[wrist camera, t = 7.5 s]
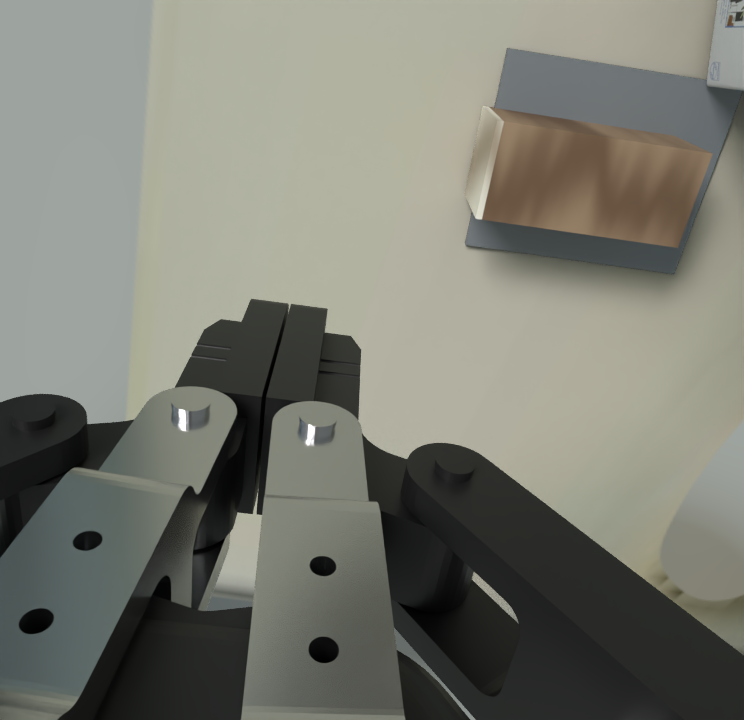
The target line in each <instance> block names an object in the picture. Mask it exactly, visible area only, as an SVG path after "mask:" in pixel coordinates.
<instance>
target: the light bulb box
mask: <svg viewBox="0 0 744 720" xmlns="http://www.w3.org/2000/svg"><path fill="white" fill-rule="evenodd" d="M707 86H710V87H718V88H726V89H734V90H742V91H744V0H718V1H717V9H716V16H715V23H714V31H713V38H712V45H711V52H710V59H709V66H708V74H707Z"/></svg>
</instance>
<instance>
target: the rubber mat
mask: <svg viewBox="0 0 744 720" xmlns="http://www.w3.org/2000/svg"><path fill="white" fill-rule="evenodd" d="M742 93H743V91H742V90H734V89H726V88H718V87H710V86H707V80H704V79H698V78H692V77H685V76H679V75H673V74H666V73H660V72H654V71H648V70H641V69H635V68H629V67H623V66H616V65H610V64H604V63H598V62H591V61H585V60H579V59H573V58H566V57H560V56H554V55H548V54H541V53H535V52H529V51H522V50H516V49H510V48H507V52H506V56H505V61H504V65H503V70H502V75H501V79H500V84H499V89H498V93H497V98H496V102H495V107H494V108H499V109H505V110H512V111H518V112H525V113H531V114H537V115H544V116H550V117H557V118H563V119H570V120H576V121H583V122H589V123H595V124H602V125H608V126H615V127H621V128H628V129H634V130H640V131H647V132H653V133H660V134H666V135H673V136H676V137H678V138H680V139H682V140H684V141H687V142H689V143H691V144H693V145H695V146H697V147H700V148H702V149H704V150H706V151H708V152H710V153H713V155H712V157H711V160H710V163H709V165H708V168H707V171H706V173H705V176H704V179H703V181H702V184H701V187H700V189H699V192H698V195H697V198H696V200H695V203H694V206H693V208H692V211H691V214H690V216H689V219H688V222H687V224H686V227H685V230H684V232H683V235H682V238H681V240H680V243H679V246H678V248H676V247H669V246H662V245H655V244H648V243H641V242H634V241H627V240H620V239H613V238H606V237H599V236H592V235H585V234H578V233H572V232H565V231H558V230H551V229H544V228H537V227H530V226H523V225H516V224H509V223H502V222H495V221H488V220H481V219H476V218H475V216H474V214H473V212H472V213H471V218H470V223H469V227H468V232H467V237H466V241H465V245H469V246H476V247H483V248H490V249H497V250H505V251H512V252H519V253H526V254H533V255H540V256H547V257H555V258H562V259H569V260H576V261H583V262H590V263H597V264H605V265H612V266H619V267H626V268H633V269H640V270H647V271H655V272H662V273H669V274H674V273H675V271H676V268H677V265H678V263H679V260H680V257H681V255H682V252H683V249H684V247H685V244H686V242H687V239H688V236H689V234H690V231H691V228H692V226H693V223H694V220H695V218H696V215H697V212H698V210H699V207H700V204H701V202H702V199H703V196H704V194H705V191H706V188H707V186H708V183H709V180H710V178H711V175H712V172H713V170H714V167H715V164H716V162H717V159H718V156H719V154H720V151H721V148H722V146H723V143H724V140H725V138H726V135H727V132H728V130H729V127H730V124H731V122H732V119H733V116H734V114H735V111H736V108H737V106H738V103H739V100H740V98H741V95H742Z"/></svg>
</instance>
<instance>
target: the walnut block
mask: <svg viewBox="0 0 744 720" xmlns="http://www.w3.org/2000/svg"><path fill="white" fill-rule="evenodd" d="M712 155H713V153H710V152H708V151H706V150H704V149H702V148H700V147H697V146H695V145H693V144H691V143H689V142H687V141H684V140H682V139H680V138H678V137H676V136H673V135H666V134H660V133H653V132H647V131H640V130H634V129H628V128H621V127H615V126H608V125H602V124H595V123H589V122H583V121H576V120H570V119H563V118H557V117H550V116H544V115H537V114H531V113H525V112H518V111H512V110H505V109H499V108H492V107H486V106H483V108H482V113H481V118H480V123H479V128H478V132H477V137H476V142H475V147H474V151H473V156H472V161H471V166H470V170H469V175H468V180H467V185H466V189H465V197H466V199H467V201H468V203H469V205H470V208H471V210H472V212H473V214H474V216H475V218H476V219H481V220H488V221H495V222H502V223H509V224H516V225H523V226H530V227H537V228H544V229H551V230H558V231H565V232H572V233H578V234H585V235H592V236H599V237H606V238H613V239H620V240H627V241H634V242H641V243H648V244H655V245H662V246H669V247H676V248H678V246H679V243H680V240H681V238H682V235H683V232H684V230H685V227H686V224H687V222H688V219H689V216H690V214H691V211H692V208H693V206H694V203H695V200H696V198H697V195H698V192H699V189H700V187H701V184H702V181H703V179H704V176H705V173H706V171H707V168H708V165H709V163H710V160H711V157H712Z"/></svg>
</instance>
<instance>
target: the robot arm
mask: <svg viewBox="0 0 744 720" xmlns="http://www.w3.org/2000/svg"><path fill="white" fill-rule="evenodd" d="M288 309H289V306H288V304H287V303H279V302H271V301H264V300H256V299H251V300H250V303H249V305H248V308H247V310H246V313H245V315H244V318H243V320H242V322H238V321H230V320H222V319H221V320H219V321H217V322H216V323H214V324H213V325H211V326H209V327H208V328H206V329H205V330H204V331H203V333H202V335H201V337H200V339H199V341H198V343H197V346H196V347H195V349H194V351H193V353H192V356H191V357H190V359H189V361H188V363H187V365H186V367H185V369H184V371H183V373H182V375H181V376H180V378H179V380H178V382H177V384H176V386H175V388H172V389H168V390H165V391H163V392H160V393H158V394H156V395H155V396H153V397H152V398H151V399H149V401H148V402H147V403H146V404H145V406H144V407H143V408H142V410H141V411H140V413H139V414H138V415H137V417H136V418H135V419H134V420H129V421H123V422H112V423H99V424H87V415H86V411H85V409H84V408H83V407H82V405H80V404H79V403H78V402H76V401H75V400H72V399H70V398H67V397H63V396H59V395H52V394H34V395H26V396H20V397H16V398H12V399H9V400H6V401H3V402H0V720H470V719H469V718H468V717H467V715H466V714H465V713H464V712H463V711H462V710H461V708H460V707H459V706H458V705H457V703H456V702H455V701H454V700H453V698H452V697H451V696H450V695H449V694H448V692H447V691H446V690H445V689H444V688H443V687H442V686H441V684H440V683H439V682H438V681H437V680H436V679H434V678H433V677H432V676H431V675H430V674H429V673H428V672H427V671H426V670H425V669H424V668H422V667H421V666H420V665H418V664H417V663H416V662H414V661H413V660H411V659H410V658H409V657H407V656H406V655H404V654H402V653H401V652H399V651H397V649H396V640H395V632H394V628H395V629H396V630H397V631H398V632H399V633H400V634H401V635H402V637H403V638H404V639H405V640H406V641H407V642H408V643H409V644H410V646H411V647H412V648H413V649H414V650H415V651H416V652H417V653H418V655H419V656H420V657H421V658H422V659H423V660H424V661H425V663H426V664H427V665H428V666H429V667H430V668H431V669H432V671H433V672H434V673H435V674H436V675H437V676H438V677H439V678H440V679H441V681H442V682H443V683H444V684H445V685H446V686H447V687H448V689H449V690H450V691H451V692H452V693H453V694H454V695H455V697H456V698H457V699H458V700H459V701H460V702H461V703H462V704H463V706H464V707H465V708H466V709H467V710H468V711H469V712H470V714H471V715H472V716H473V717H474V718H475V719H476V720H744V655H742V654H741V653H740V652H738V651H737V650H736V649H734V648H733V647H732V646H731V645H729V644H728V643H727V642H725V641H724V640H723V639H721V638H720V637H719V636H717V635H716V634H715V633H714V632H712V631H711V630H710V629H708V628H707V627H706V626H704V625H703V624H702V623H700V622H699V621H698V620H697V619H695V618H694V617H693V616H691V615H690V614H689V613H687V612H686V611H685V610H683V609H682V608H681V607H680V606H678V605H677V604H676V603H674V602H673V601H672V600H670V599H669V598H668V597H666V596H665V595H664V594H663V593H661V592H660V591H659V590H657V589H656V588H655V587H653V586H652V585H651V584H649V583H648V582H647V581H646V580H644V579H643V578H642V577H640V576H639V575H638V574H636V573H635V572H634V571H632V570H631V569H630V568H629V567H627V566H626V565H625V564H623V563H622V562H621V561H619V560H618V559H617V558H615V557H614V556H613V555H612V554H610V553H609V552H608V551H606V550H605V549H604V548H602V547H601V546H600V545H598V544H597V543H596V542H595V541H593V540H592V539H591V538H589V537H588V536H587V535H585V534H584V533H583V532H581V531H580V530H579V529H578V528H576V527H575V526H574V525H572V524H571V523H570V522H568V521H567V520H566V519H565V518H563V517H562V516H561V515H559V514H558V513H557V512H555V511H554V510H553V509H551V508H550V507H549V506H548V505H546V504H545V503H544V502H542V501H541V500H540V499H538V498H537V497H536V496H534V495H533V494H532V493H531V492H529V491H528V490H527V489H525V488H524V487H523V486H521V485H520V484H519V483H517V482H516V481H515V480H514V479H512V478H511V477H510V476H508V475H507V474H506V473H504V472H503V471H502V470H500V469H499V468H498V467H497V466H495V465H494V464H493V463H491V462H490V461H489V460H487V459H486V458H485V457H483V456H482V455H480V454H479V453H477V452H475V451H473V450H471V449H468V448H466V447H462V446H459V445H454V444H448V443H433V444H427V445H423V446H421V447H419V448H417V449H415V450H414V451H413V452H412V453H411V454H410V455H409V457H408V459H404V458H401V457H398V456H395V455H393V454H390V453H387V452H385V451H383V450H381V449H379V448H378V447H376V446H375V445H373V444H372V443H371V442H369V441H368V440H367V439H366V438H365V437H364V435H363V434H362V429H361V425H360V423H359V421H358V414H359V388H360V362H361V349H360V348H359V346H358V345H357V344H356V342H355V341H354V340H353V338H352V337H351V336H346V335H338V334H331V333H325V326H326V318H327V309H325V308H318V307H310V306H303V305H295V304H291V306H290V310H289V314H288ZM258 489H259V491H258ZM257 493H258V503H257V514H259V515H262V522H261V532H260V541H259V551H258V561H257V570H256V580H255V590H254V599H253V607H246V608H236V609H227V610H218V611H206V609H207V606H208V603H209V601H210V598H211V595H212V593H213V590H214V587H215V585H216V582H217V579H218V577H219V574H220V571H221V569H222V566H223V563H224V560H225V558H226V555H227V552H228V549H229V543H230V532H231V530H232V529H233V526H234V523H235V519H236V516H237V512H239V513H248V514H253V510H254V506H255V501H256V497H257ZM474 572H475V573H477V574H478V575H479V576H480V577H481V578H482V579H483V580H484V581H485V582H486V583H487V584H488V585H489V586H491V587H492V588H493V589H494V590H495V591H496V592H497V593H498V594H499V595H500V596H501V597H502V598H503V599H504V600H505V601H506V602H507V603H508V604H509V605H510V606H511V608H512V609H513V611H514V612H515V614H516V617H517V619H518V622H519V624H518V623H517V622H516V621H515V620H514V619H513V618H512V617H511V616H510V615H508V614H507V613H506V612H505V611H504V610H503V609H502V608H501V607H500V606H499V605H498V604H497V603H496V602H495V601H494V600H493V599H492V598H491V597H489V596H488V595H487V594H486V593H485V592H484V591H483V590H482V589H481V588H480V587H479V586H478V585H477V584H476V583H475V582H474V581H473V580H472V576H473V573H474Z"/></svg>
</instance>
